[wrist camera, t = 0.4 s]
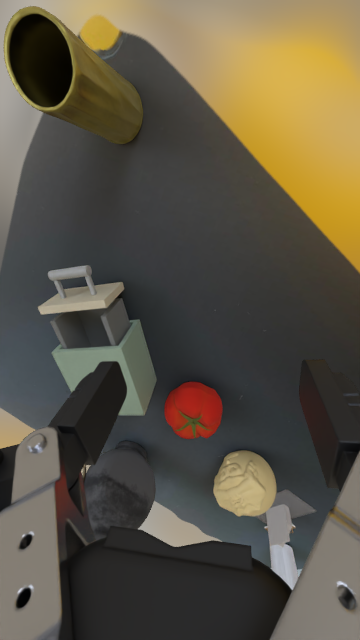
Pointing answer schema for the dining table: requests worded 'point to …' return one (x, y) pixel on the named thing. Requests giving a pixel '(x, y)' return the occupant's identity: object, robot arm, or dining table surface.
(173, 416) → the tomato
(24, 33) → the vase
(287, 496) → the architectural model
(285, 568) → the cup
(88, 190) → the dining table surface
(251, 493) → the sculpture
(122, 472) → the pitcher
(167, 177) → the dining table surface
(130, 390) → the cabinet
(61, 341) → the drawer
